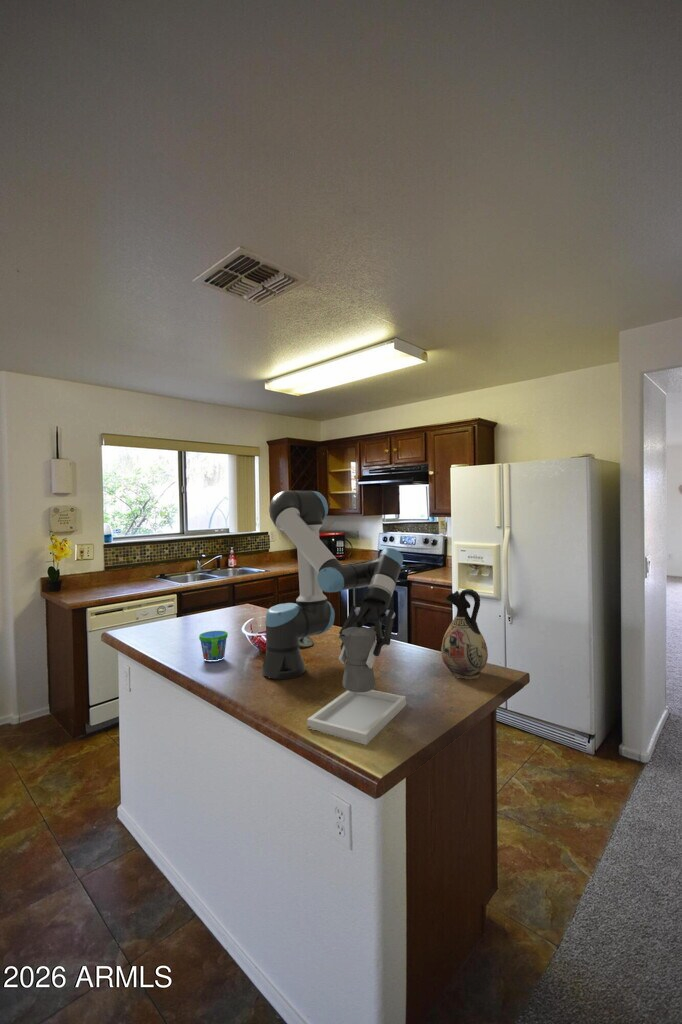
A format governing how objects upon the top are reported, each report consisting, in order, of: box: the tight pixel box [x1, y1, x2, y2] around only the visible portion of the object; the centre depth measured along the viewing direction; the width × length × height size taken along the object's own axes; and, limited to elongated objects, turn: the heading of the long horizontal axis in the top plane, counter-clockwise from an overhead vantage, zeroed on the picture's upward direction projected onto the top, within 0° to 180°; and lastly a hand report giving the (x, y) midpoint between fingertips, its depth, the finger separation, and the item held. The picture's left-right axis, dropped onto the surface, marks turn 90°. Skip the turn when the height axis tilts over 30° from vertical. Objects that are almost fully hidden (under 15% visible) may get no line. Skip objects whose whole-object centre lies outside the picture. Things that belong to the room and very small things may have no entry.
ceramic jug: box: [440, 588, 489, 680], centre depth 155 cm, size 17×15×30 cm
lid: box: [299, 636, 314, 649], centre depth 194 cm, size 11×10×5 cm
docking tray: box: [306, 689, 407, 746], centre depth 126 cm, size 17×25×2 cm
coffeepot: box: [338, 620, 385, 692], centre depth 125 cm, size 15×9×18 cm, turn 125°
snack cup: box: [198, 630, 228, 660], centre depth 177 cm, size 16×10×10 cm
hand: (355, 663), depth 123 cm, fingers closed on coffeepot, 8 cm apart
